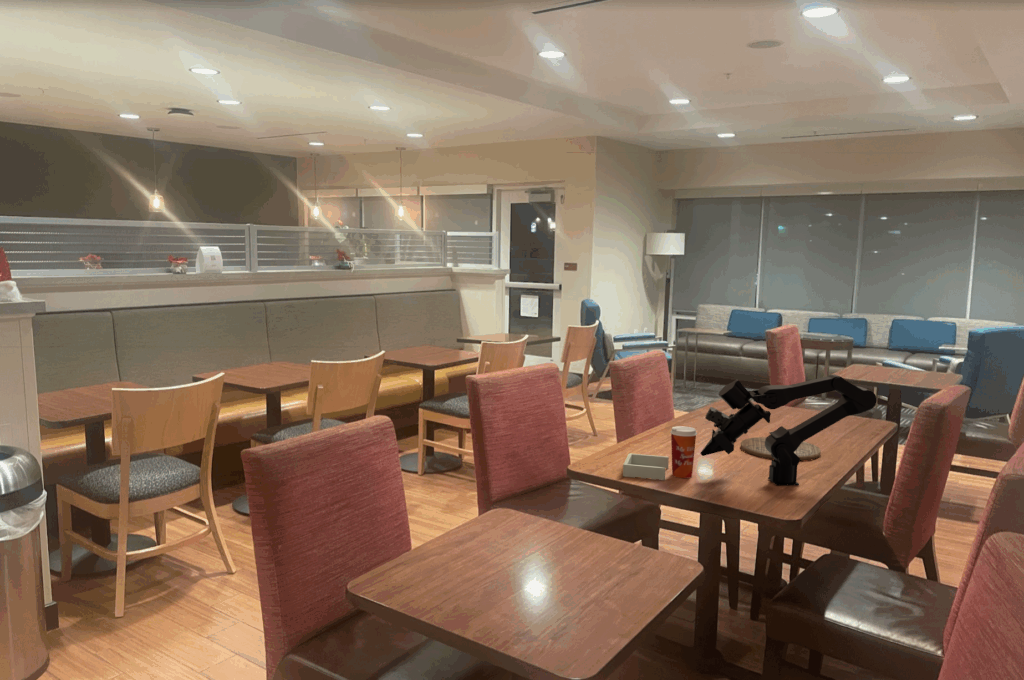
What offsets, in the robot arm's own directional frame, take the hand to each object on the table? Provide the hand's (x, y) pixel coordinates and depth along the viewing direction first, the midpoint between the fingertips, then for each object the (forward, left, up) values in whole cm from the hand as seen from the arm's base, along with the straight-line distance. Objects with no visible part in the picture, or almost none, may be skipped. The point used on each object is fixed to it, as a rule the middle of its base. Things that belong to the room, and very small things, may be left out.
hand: (701, 454), depth 204 cm
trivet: (-36, -28, -7) cm, 47 cm away
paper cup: (+5, -2, -7) cm, 9 cm away
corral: (+14, -5, -7) cm, 17 cm away
